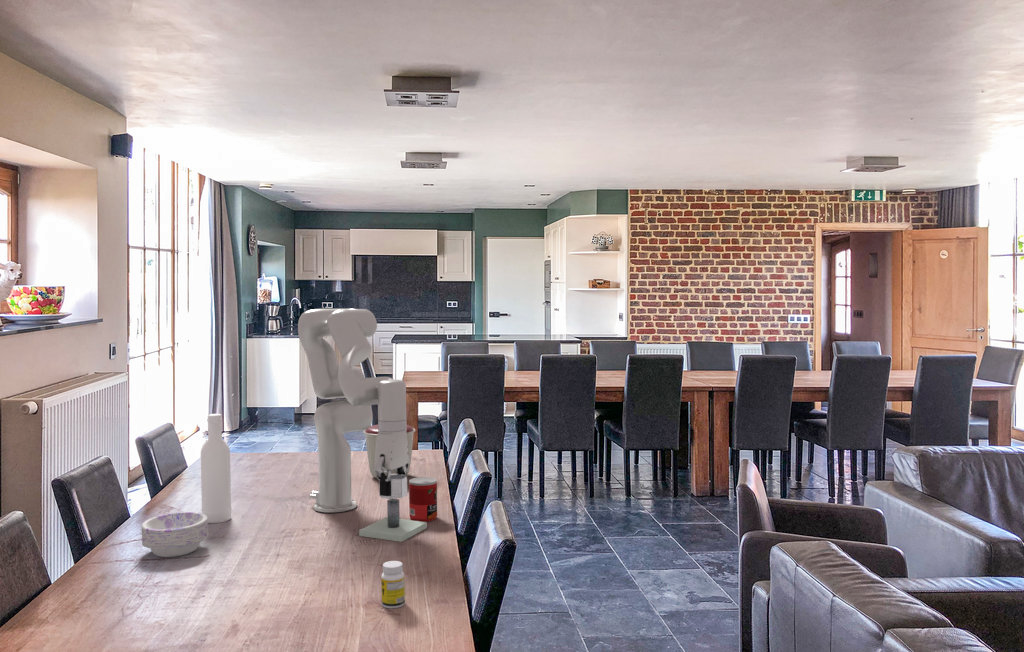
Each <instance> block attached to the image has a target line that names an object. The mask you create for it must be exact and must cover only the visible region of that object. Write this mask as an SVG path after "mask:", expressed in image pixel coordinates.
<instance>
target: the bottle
mask: <svg viewBox="0 0 1024 652" xmlns="http://www.w3.org/2000/svg"><path fill="white" fill-rule="evenodd" d="M222 423H223V418H222V414H221V413H210V414H208V415H207V437H208V438H207V440H206V441H205V442H204V443H203V444H202V447H201V449H200V480H201V481H200V483H201V484H200V485H201V486H200V488H201V489H200V490H201V513H202V514H205V515H206V516H207V517H208V524H219V523H224V522H227V521H230V520H231V518H232V511H233V510H232V492H231V491H232V489H231V488H232V486H231V485H232V484H231V451H230V450H231V449H230V446H229V444H228V442H227V441H225V440H224V439H223V429H222V428H223V426H222Z"/></svg>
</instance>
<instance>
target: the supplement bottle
mask: <svg viewBox="0 0 1024 652" xmlns="http://www.w3.org/2000/svg"><path fill="white" fill-rule="evenodd" d="M403 569H404V568H403V562H401V561H399V560H389V561H385V562H384V563H383V564H382V573H381V576H380V579H381V605H382V607H383V608H386V609H399V608H402V607H403V606H404V605H405V603H406V596H405V595H406V593H405V592H406V591H405V589H406V588H405V587H406V586H405V585H406V584H405V580H406V579H405V572H403Z"/></svg>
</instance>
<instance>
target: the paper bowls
mask: <svg viewBox="0 0 1024 652" xmlns="http://www.w3.org/2000/svg"><path fill="white" fill-rule="evenodd" d="M208 537H209V523H208V517H207V516H206V515H205V514H202V512H196V511H182V512H181V511H180V512H171V513H165V514H161V515H157V516H156V515H155V516H154V517H150V518H148V519H146V520H145V521H143V523H142V524H141V546H142V547H144V548H147V549H150V551H151V552H152V553H153V554H154V556H157V557H162V558H175V557H180V556H186V555H189V554H191V553H192V552H195V551H196V550H198V548H199V546H200V544H201V542H203V541H204V540H206V539H207V538H208Z"/></svg>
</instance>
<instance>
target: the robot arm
mask: <svg viewBox="0 0 1024 652" xmlns="http://www.w3.org/2000/svg"><path fill="white" fill-rule="evenodd" d="M377 327H378V322H377V319H376V317H375V314H374V313H373V312H372V311H371V310H369V309H365V308H314V309H309V310H306V311H304V312H302V313H301V315H300V316H299V318H298V323H297V332H298V338H299V342H300V344H301V346H302V348H303V351H304V352H305V354H306V357H307V364H308V369H309V372H310V378H311V383H312V387H313V391H314V395H316V397H317V398H318V399H321V400H331V399H332V400H333V399H343V398H345V400H342V401H341V400H340V401H332V402H331V401H330V402H326V403H323V404H320V405H319V406H318V407H317V408H316V409H315V411H314V415H313V418H314V419H313V420H314V421H313V422H314V426H315V430H316V436H317V437H316V438H317V452H318V453H317V457H318V462H317V463H318V490H312V491H311V492H310V494H309V499H311V500H315V503H314V504H313V509H314V510H315V511H317V512H320V513H343V512H347V511H350V510H354V509H356V507H357V506H358V503H357V500H355V499H352V450H351V446H350V444H349V442H348V440H347V439H346V438H345V436H344V435H345V434H348V433H353V432H354V433H355V432H361V431H364V430H366V429H368V428H369V427H370V426H372V423H373V419H374V417H373V416H374V415H373V410H372V409H373V408H372V406H374V405H375V406H377V425H378V432H379V433H377V439H376V447H375V469H374V471H375V472H376V474H377V477H378V479H377V480H378V482H379V481H380V495H381V496H391V481H389V479H390V475H391V471H392V470H395V469H396V472H397V474H404V475H405V474H407V468H408V463H409V461H410V456H409V455H408V441H407V433H406V431H407V425H408V424H407V423H408V422H407V384H406V382H405V381H404V380H402V379H394V378H392V377H390V376H377V377H375V376H373V377H365V375H364V373H363V371H362V370H361V369H360V368H359V367H357V365H359V364H361V363H363V362H364V361H365V360H367V359H368V358H369V356H370V355H371V352H372V346H371V344H370V342H369V340H368V338H370V337H372V336H374V335H375V334H376V332H377V329H378V328H377ZM324 337H326V338H327V337H331V338H332V339H333V341H334V343H335V345H336V347H337V349H338V352H339V353H340V354H341V355H340V356H341V357H342V358H341V361H339V363H338V358H337V357H338V356H337V353H336V351H335V349H334V348H333V346H332V345H331V344H330V343H329V342H328V340H325V339H324ZM385 467H387V469H384V468H385ZM384 472H387V474H386V475H385V473H384ZM407 475H408V474H407Z"/></svg>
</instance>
